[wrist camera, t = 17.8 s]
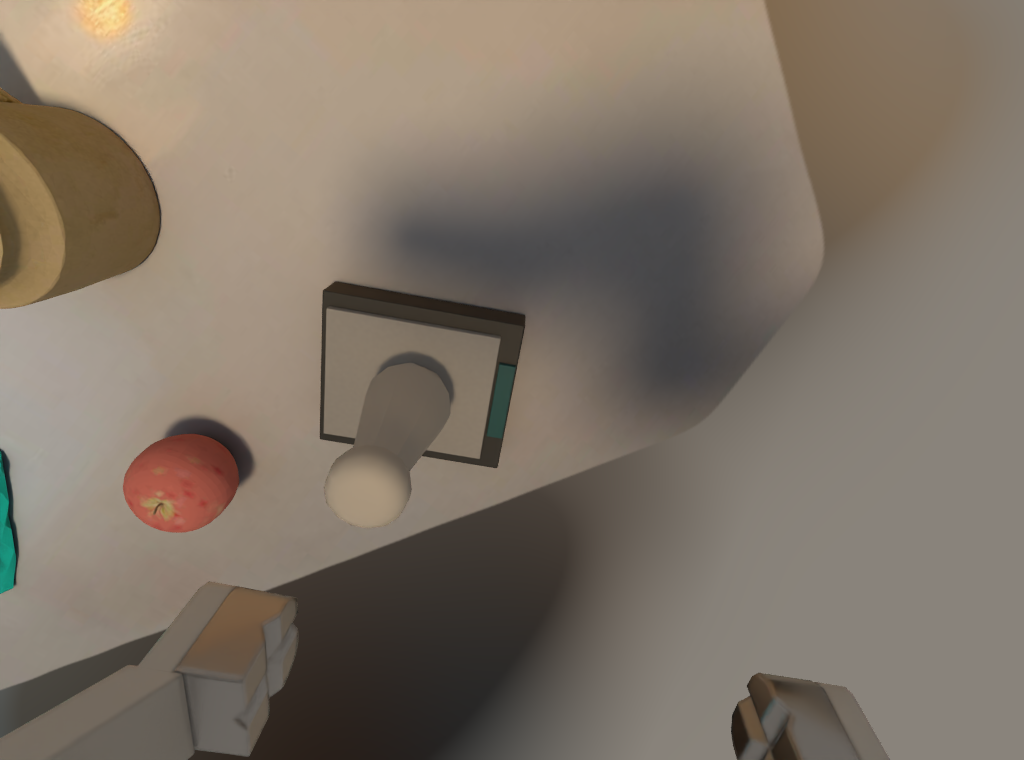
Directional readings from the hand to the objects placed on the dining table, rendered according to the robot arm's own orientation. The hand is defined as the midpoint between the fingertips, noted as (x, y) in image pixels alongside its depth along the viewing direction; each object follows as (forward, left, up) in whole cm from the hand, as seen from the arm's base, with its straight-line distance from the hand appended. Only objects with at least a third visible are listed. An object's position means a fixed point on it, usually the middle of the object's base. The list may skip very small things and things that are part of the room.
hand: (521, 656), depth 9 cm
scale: (+7, +9, -30) cm, 32 cm away
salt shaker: (+7, +9, -27) cm, 30 cm away
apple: (+24, +20, -31) cm, 44 cm away
